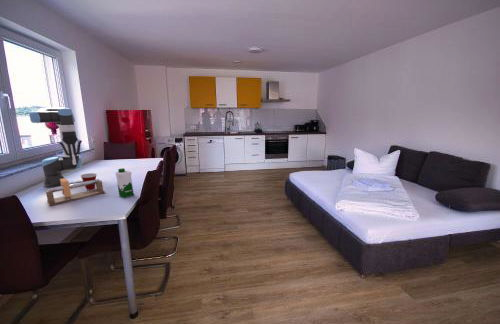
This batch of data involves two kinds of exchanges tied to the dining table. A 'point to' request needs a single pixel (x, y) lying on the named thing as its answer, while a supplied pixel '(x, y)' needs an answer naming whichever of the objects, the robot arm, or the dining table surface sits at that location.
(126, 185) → the milk carton
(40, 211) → the dining table surface
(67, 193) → the collar
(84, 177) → the plastic cup
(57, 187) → the steel pipe
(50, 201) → the pipe stand
